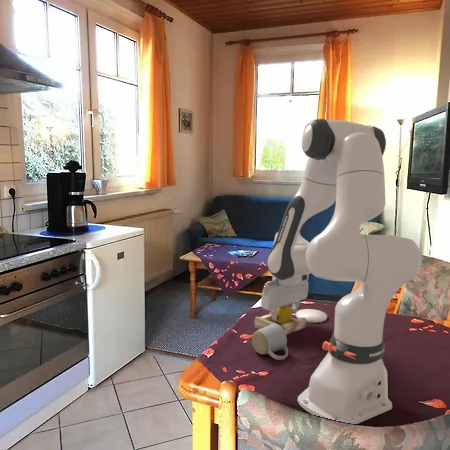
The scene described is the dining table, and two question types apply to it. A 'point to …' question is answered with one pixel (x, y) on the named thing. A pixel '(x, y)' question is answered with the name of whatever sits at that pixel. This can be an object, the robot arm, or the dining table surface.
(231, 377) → the dining table surface
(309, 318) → the saucer
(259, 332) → the ceramic mug
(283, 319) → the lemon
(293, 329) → the wooden rectangular frame
